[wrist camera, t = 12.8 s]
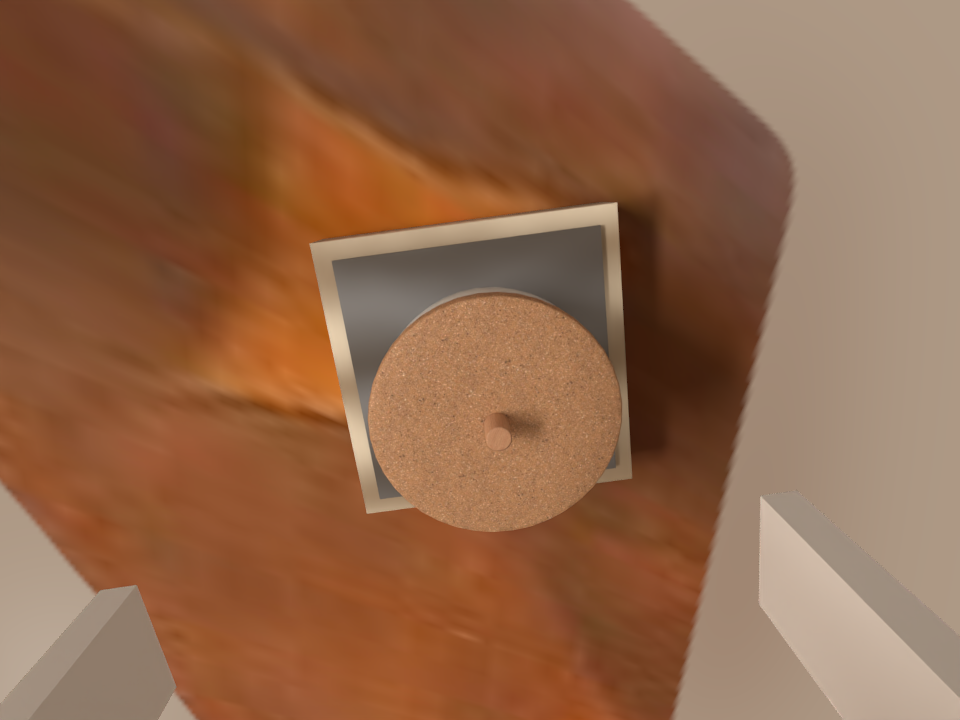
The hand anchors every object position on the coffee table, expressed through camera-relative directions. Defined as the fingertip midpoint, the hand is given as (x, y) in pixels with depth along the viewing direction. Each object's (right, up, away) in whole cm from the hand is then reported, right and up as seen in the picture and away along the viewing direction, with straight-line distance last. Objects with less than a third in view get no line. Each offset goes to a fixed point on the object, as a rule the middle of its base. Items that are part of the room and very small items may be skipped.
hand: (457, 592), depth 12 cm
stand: (+1, +5, +22) cm, 23 cm away
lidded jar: (+1, +5, +19) cm, 20 cm away
